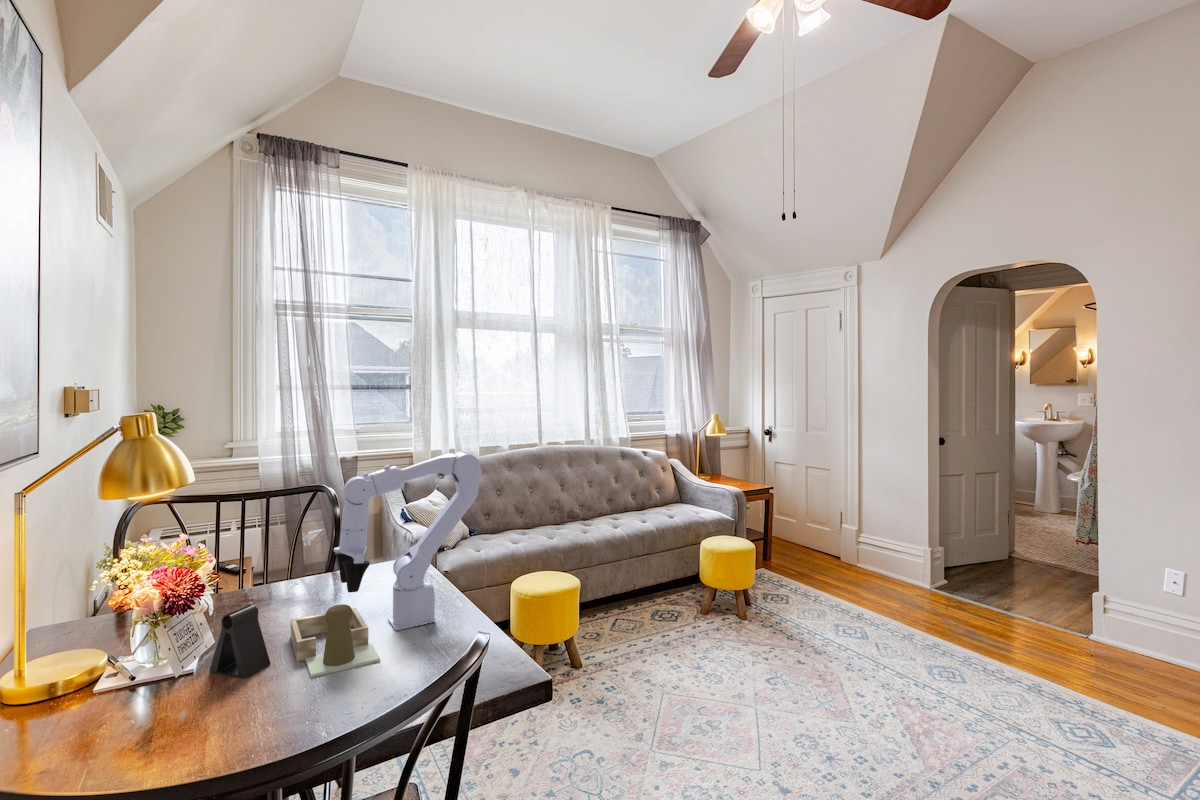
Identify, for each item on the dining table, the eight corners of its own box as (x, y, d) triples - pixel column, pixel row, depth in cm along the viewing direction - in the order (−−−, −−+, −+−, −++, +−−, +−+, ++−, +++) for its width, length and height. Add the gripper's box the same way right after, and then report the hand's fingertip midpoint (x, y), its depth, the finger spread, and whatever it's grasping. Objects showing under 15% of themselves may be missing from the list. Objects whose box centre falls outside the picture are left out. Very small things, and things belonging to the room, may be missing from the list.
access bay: (356, 624, 140) (356, 607, 140) (368, 645, 128) (368, 627, 128) (290, 637, 132) (290, 620, 132) (297, 661, 120) (297, 642, 120)
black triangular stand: (270, 665, 119) (270, 606, 119) (245, 678, 113) (245, 617, 113) (235, 659, 121) (235, 602, 121) (209, 673, 115) (209, 613, 115)
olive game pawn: (342, 667, 116) (342, 613, 116) (316, 664, 118) (316, 610, 118) (360, 654, 122) (360, 602, 122) (335, 651, 124) (335, 600, 124)
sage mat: (371, 646, 128) (371, 643, 128) (380, 661, 121) (380, 658, 121) (305, 660, 121) (305, 658, 121) (310, 677, 114) (310, 674, 114)
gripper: (330, 523, 139) (325, 579, 139) (342, 536, 128) (337, 598, 127) (361, 521, 143) (356, 576, 143) (375, 534, 132) (370, 594, 131)
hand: (349, 586), depth 135 cm, fingers open, 7 cm apart
